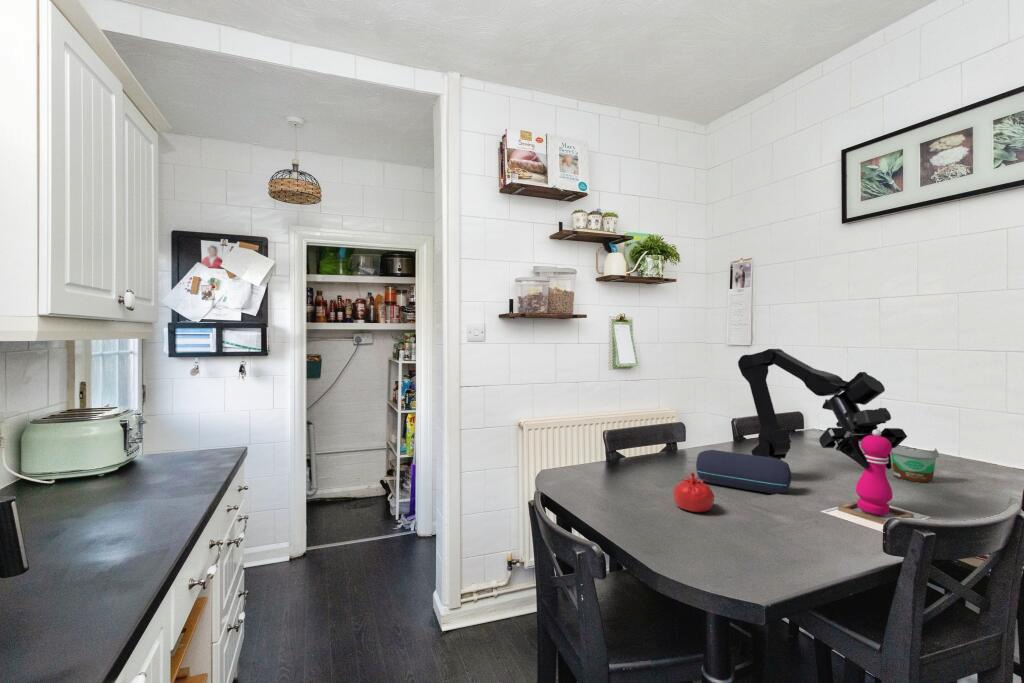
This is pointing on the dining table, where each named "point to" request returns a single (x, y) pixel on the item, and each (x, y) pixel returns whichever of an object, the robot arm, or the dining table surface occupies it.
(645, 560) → the dining table surface
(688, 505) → the pomegranate
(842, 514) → the picture frame
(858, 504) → the pepper mill
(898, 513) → the walnut socket
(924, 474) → the food container
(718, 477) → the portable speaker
